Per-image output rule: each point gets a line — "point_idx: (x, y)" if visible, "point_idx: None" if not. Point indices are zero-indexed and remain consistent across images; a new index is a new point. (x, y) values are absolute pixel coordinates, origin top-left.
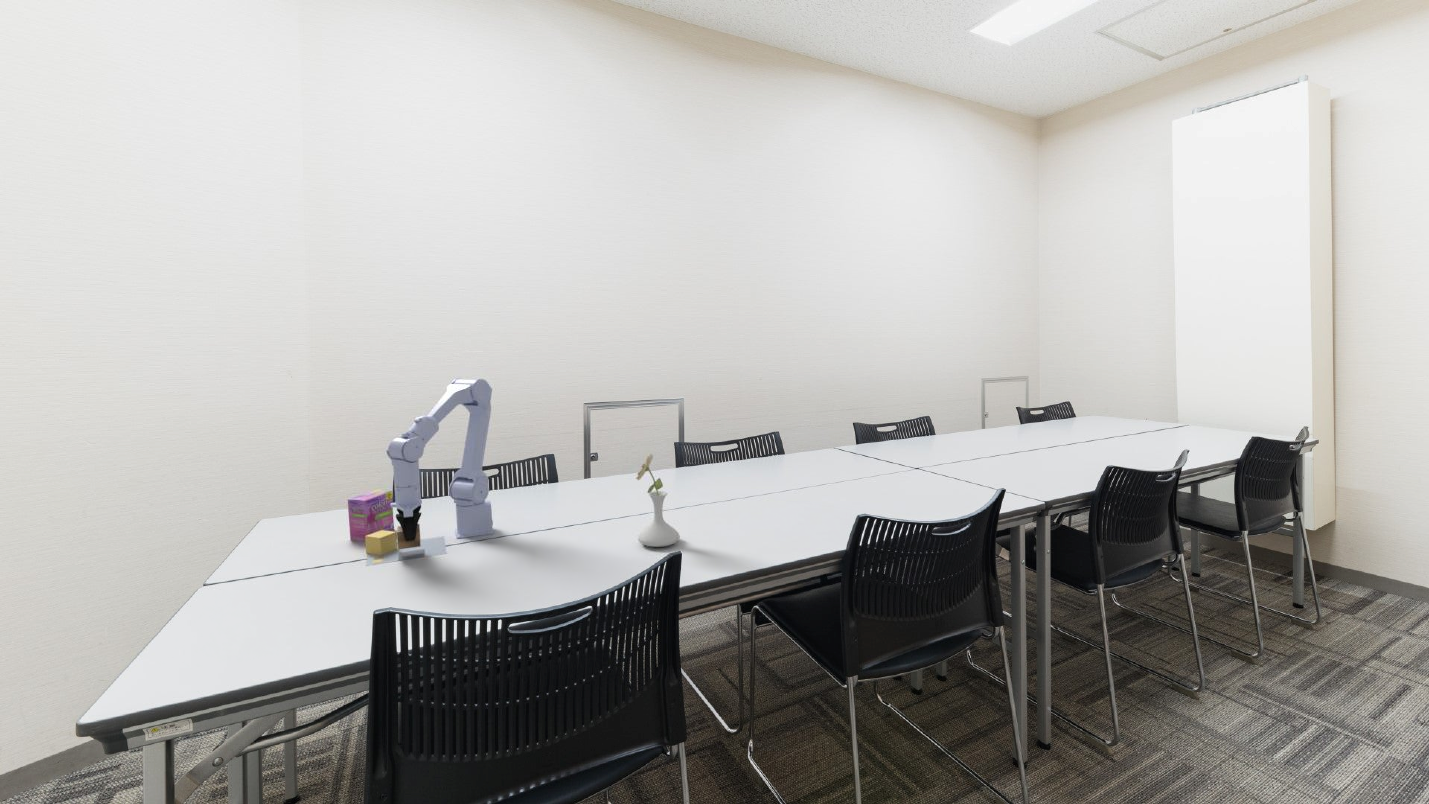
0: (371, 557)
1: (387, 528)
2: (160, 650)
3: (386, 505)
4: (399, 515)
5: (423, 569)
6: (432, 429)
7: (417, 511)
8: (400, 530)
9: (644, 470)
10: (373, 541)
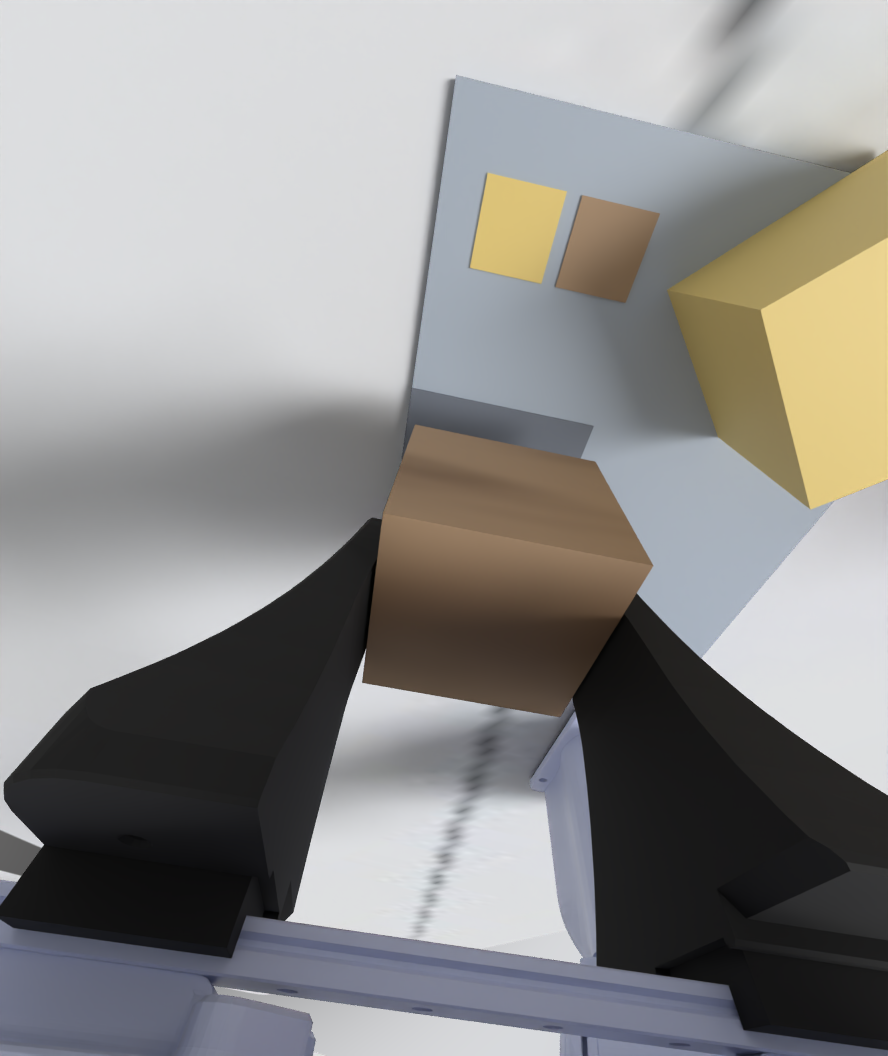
0: (680, 183)
1: None
2: None
3: None
4: (88, 816)
5: (180, 484)
6: None
7: (605, 878)
8: (435, 557)
9: None
10: (865, 223)
